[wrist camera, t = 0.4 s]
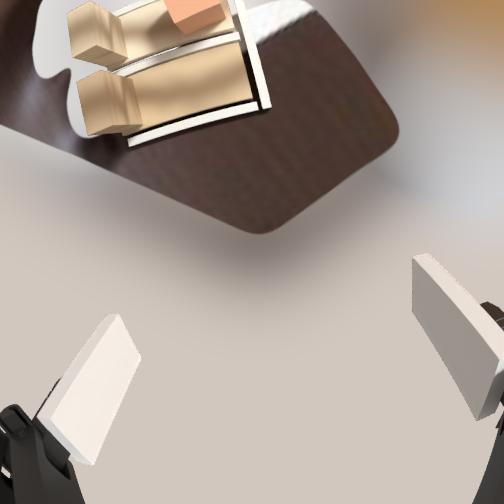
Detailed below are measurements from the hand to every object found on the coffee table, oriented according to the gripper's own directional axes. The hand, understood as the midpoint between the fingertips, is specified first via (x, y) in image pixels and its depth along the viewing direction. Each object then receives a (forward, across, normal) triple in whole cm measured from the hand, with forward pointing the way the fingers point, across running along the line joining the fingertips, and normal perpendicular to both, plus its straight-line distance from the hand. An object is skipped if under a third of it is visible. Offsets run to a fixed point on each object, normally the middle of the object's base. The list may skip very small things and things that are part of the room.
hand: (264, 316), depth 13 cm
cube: (+25, -2, +24) cm, 34 cm away
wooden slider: (+27, -7, +24) cm, 36 cm away
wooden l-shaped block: (+26, -7, +14) cm, 31 cm away
